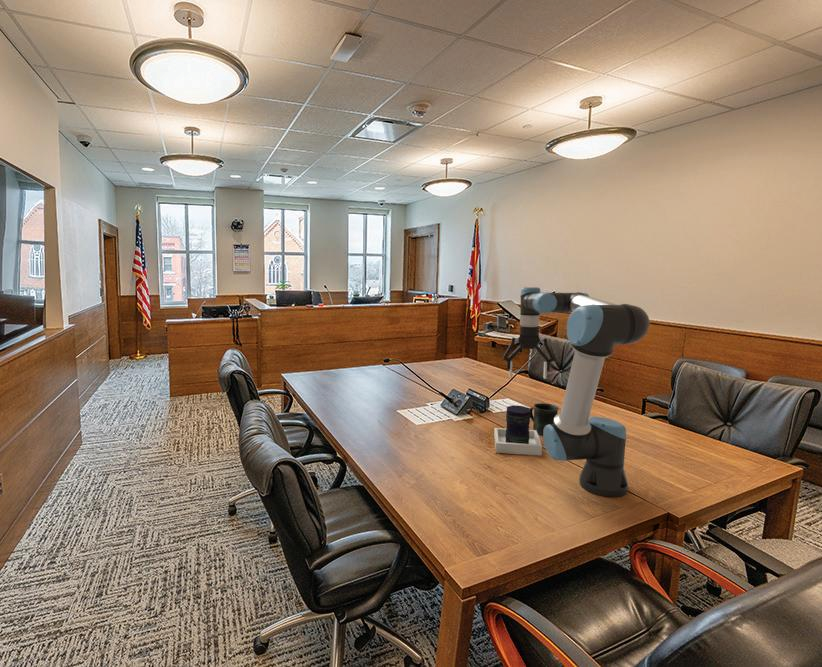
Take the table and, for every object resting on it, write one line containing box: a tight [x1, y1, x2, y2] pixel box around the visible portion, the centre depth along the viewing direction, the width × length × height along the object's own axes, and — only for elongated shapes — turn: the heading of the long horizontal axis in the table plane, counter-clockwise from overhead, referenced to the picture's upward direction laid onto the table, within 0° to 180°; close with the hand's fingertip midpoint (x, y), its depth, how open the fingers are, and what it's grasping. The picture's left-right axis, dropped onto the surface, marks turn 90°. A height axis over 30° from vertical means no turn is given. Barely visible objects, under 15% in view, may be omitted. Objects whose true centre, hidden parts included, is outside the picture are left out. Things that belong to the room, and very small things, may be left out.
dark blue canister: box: [505, 405, 531, 444], centre depth 182 cm, size 10×10×15 cm
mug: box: [529, 402, 560, 436], centre depth 200 cm, size 11×15×12 cm
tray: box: [493, 427, 543, 456], centre depth 183 cm, size 18×18×4 cm
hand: (527, 377), depth 177 cm, fingers open, 13 cm apart
